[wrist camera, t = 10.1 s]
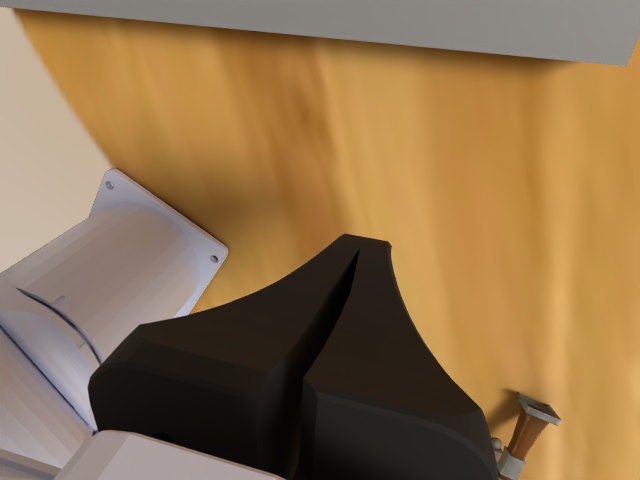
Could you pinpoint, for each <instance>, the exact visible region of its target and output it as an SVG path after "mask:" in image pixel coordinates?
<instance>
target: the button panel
mask: <svg viewBox="0 0 640 480" xmlns="http://www.w3.org/2000/svg"><path fill="white" fill-rule="evenodd" d="M0 7H8V8H19V9H29V10H40V11H50V12H61V13H72V14H82V15H93V16H103V17H114V18H124V19H135V20H145V21H156V22H166V23H177V24H187V25H198V26H208V27H219V28H229V29H240V30H250V31H261V32H271V33H282V34H292V35H303V36H314V37H324V38H335V39H345V40H356V41H366V42H377V43H387V44H398V45H408V46H419V47H429V48H440V49H450V50H461V51H471V52H482V53H492V54H503V55H513V56H524V57H534V58H545V59H556V60H566V61H577V62H587V63H598V64H608V65H619V66H627V65H628V62H629V60H630V57H631V55H632V52H633V49H634V47H635V44H636V42H637V39H638V36H639V34H640V0H0Z"/></svg>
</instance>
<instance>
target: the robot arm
mask: <svg viewBox="0 0 640 480" xmlns="http://www.w3.org/2000/svg"><path fill="white" fill-rule="evenodd" d="M110 182H111V183H112V184H113V186H114V187H113V186H112V185H111V184H110ZM391 247H392V246H391V245H390V243H389V242H388V241H382V240H377V239H372V238H366V237H361V236H355V235H350V234H343V235H342V236H340V237H339V238H338V239H336V240H335V241H334V242H333V243H331V244H330V245H329V246H328V247H327V248H325V249H324V250H323V251H321V252H320V253H319V254H318V255H316V256H315V257H313V258H312V259H311V260H309V261H308V262H307V263H305V264H304V265H302V266H301V267H300V268H298V269H296V270H295V271H293V272H292V273H290V274H289V275H287V276H285V277H284V278H282V279H281V280H279V281H277V282H275V283H273V284H271V285H269V286H267V287H265V288H263V289H261V290H259V291H257V292H255V293H252V294H250V295H247V296H245V297H242V298H240V299H237V300H234V301H232V302H229V303H227V304H224V305H221V306H218V307H214V308H211V309H208V310H205V311H201V312H197V313H193V314H190V315H189V313H190V312H191V310H192V309H193V307H194V306H195V304H196V303H197V301H198V299H199V298H200V296H201V295H202V293H203V292H204V290H205V289H206V287H207V286H208V284H209V283H210V281H211V280H212V278H213V277H214V275H215V274H216V272H217V271H218V269H219V268H220V266H221V265H222V263H223V262H224V260H225V259H226V257H227V256H228V249H227V247H226V246H225V245H224V244H222V243H221V242H220V241H218V240H217V239H215V238H214V237H212V236H211V235H210V234H208V233H207V232H205V231H204V230H203V229H201V228H200V227H198V226H197V225H196V224H194V223H193V222H191V221H190V220H188V219H187V218H186V217H184V216H183V215H181V214H180V213H179V212H177V211H176V210H174V209H173V208H172V207H170V206H169V205H167V204H166V203H164V202H163V201H162V200H160V199H159V198H157V197H156V196H155V195H153V194H152V193H150V192H149V191H148V190H146V189H145V188H143V187H142V186H140V185H139V184H138V183H136V182H135V181H133V180H132V179H131V178H129V177H128V176H126V175H125V174H124V173H122V172H121V171H119V170H118V169H115V168H112V169H109V170H108V171H106V172H105V174H104V177H103V180H102V183H101V185H100V188H99V191H98V193H97V196H96V199H95V201H94V204H93V207H92V210H91V212H90V215H89V218H87V219H86V220H84V221H82V222H81V223H79V224H78V225H76V226H75V227H73V228H71V229H70V230H68V231H67V232H65V233H64V234H62V235H60V236H59V237H57V238H56V239H54V240H52V241H51V242H49V243H48V244H46V245H44V246H43V247H41V248H40V249H38V250H37V251H35V252H33V253H32V254H30V255H29V256H27V257H26V258H24V259H22V260H21V261H19V262H18V263H16V264H15V265H13V266H11V267H10V268H8V269H7V270H5V271H3V272H2V273H0V480H499V478H498V468H497V462H496V457H495V452H494V448H493V444H492V440H491V436H490V432H489V429H488V426H487V423H486V420H485V416H484V414H483V411H482V409H481V408H480V407H479V406H478V405H477V404H476V403H475V402H474V401H473V400H472V399H471V398H470V397H469V396H468V395H467V394H466V393H465V392H464V391H463V390H462V389H461V388H460V387H459V386H458V385H457V384H456V383H455V382H454V381H453V380H452V379H451V378H450V376H449V375H448V374H447V373H446V372H445V371H444V369H443V368H442V367H441V365H440V364H439V363H438V361H437V360H436V358H435V357H434V356H433V354H432V353H431V351H430V350H429V349H428V347H427V346H426V344H425V343H424V341H423V339H422V338H421V336H420V334H419V333H418V331H417V329H416V327H415V325H414V324H413V322H412V320H411V318H410V316H409V314H408V311H407V309H406V307H405V304H404V302H403V299H402V297H401V294H400V291H399V288H398V285H397V282H396V278H395V275H394V271H393V266H392V260H391ZM213 255H215V256H216V257H217V258H218V259H215V258H214V256H213Z"/></svg>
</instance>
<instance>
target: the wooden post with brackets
mask: <svg viewBox="0 0 640 480" xmlns="http://www.w3.org/2000/svg"><path fill="white" fill-rule="evenodd" d="M516 398H517V400H518V401H519V403H520V404H521V410H520V415H519V418H518V421H517V424H516V427H515V430H514V433H513V437H512V439H511V441H510V443H509V445H508V447H506V446H504V450H503V452H502V450H501V447H502V442H501V440H500V439H498V438H493V439H492V444H493V448H494V452H495V457H496V462H497V467H498V478H499V480H518V478H519V475H520V473H521V470H522V468H523V467H524V465H525V464H526V462H525V460H524V459H525V457H526V455H527V453H528V451H529V449H530V448H531V447H532V445H533V444H534V442H535V441H536V439H537V438H538V436H539V435H540V433H541V432H542V430H543V429H544V428H545V427H546V426H547V425H548V424H549V423H552V424H554V425H557V426H558V423H559V421H562V420H561V419H560V418H559V416H558V415H557V414H556V413H555V411H554V410H553V409H552V408H551V406H550V405H549V406H545V405H542V404H540V403H538V402H535V401H533V400H530V399H528V398H526V397H523V396H521V395H520V393H519V394H518V397H516Z"/></svg>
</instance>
